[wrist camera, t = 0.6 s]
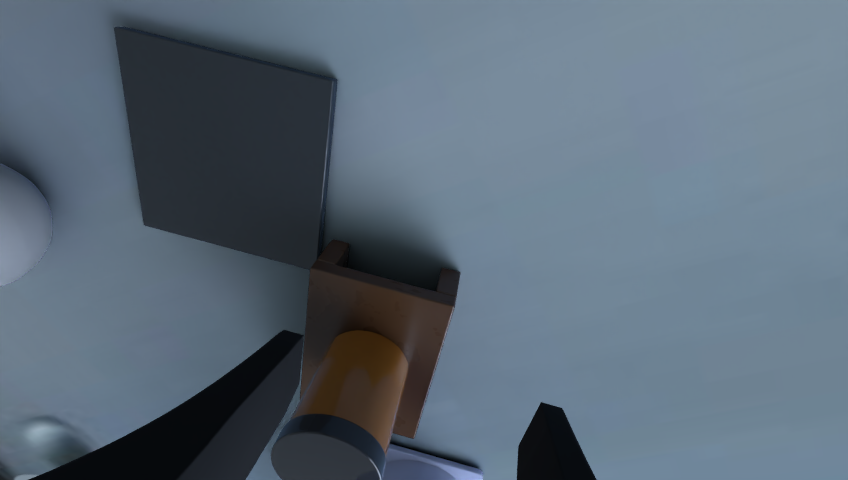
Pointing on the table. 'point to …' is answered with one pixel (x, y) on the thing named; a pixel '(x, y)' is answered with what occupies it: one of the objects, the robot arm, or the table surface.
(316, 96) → the slate pad
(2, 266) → the white ovoid
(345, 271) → the shelf
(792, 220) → the table surface
